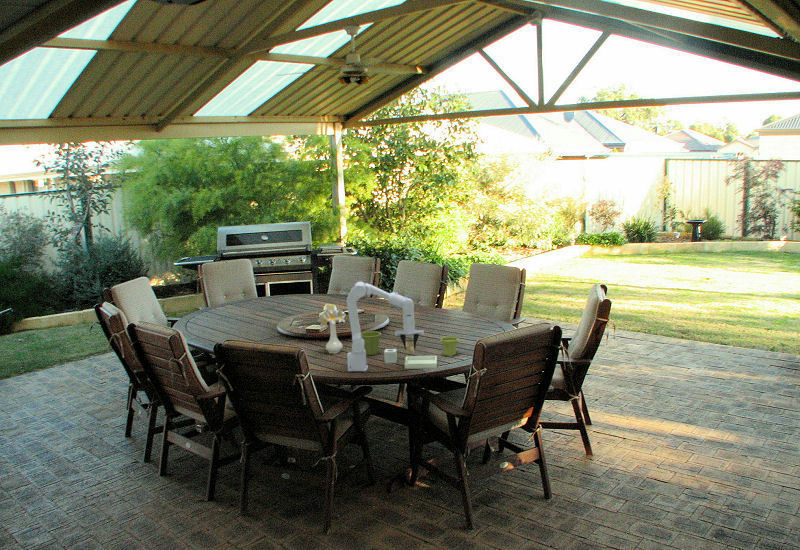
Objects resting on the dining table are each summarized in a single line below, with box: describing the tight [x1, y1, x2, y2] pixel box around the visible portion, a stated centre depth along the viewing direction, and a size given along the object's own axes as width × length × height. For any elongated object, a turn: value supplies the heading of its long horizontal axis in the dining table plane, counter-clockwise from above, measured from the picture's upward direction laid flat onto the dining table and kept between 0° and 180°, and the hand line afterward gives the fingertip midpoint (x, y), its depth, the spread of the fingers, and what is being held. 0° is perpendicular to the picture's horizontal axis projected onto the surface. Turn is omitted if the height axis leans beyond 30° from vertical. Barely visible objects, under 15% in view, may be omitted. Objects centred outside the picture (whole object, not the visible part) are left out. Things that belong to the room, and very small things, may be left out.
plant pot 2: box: [440, 336, 459, 357], centre depth 335 cm, size 9×9×9 cm
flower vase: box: [316, 306, 347, 355], centre depth 348 cm, size 13×18×25 cm
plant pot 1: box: [361, 331, 382, 356], centre depth 343 cm, size 12×12×11 cm
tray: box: [404, 355, 438, 370], centre depth 319 cm, size 16×14×2 cm
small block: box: [405, 339, 415, 354], centre depth 316 cm, size 4×4×6 cm
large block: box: [383, 348, 398, 364], centre depth 327 cm, size 6×6×6 cm
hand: (410, 348), depth 316 cm, fingers closed on small block, 4 cm apart
